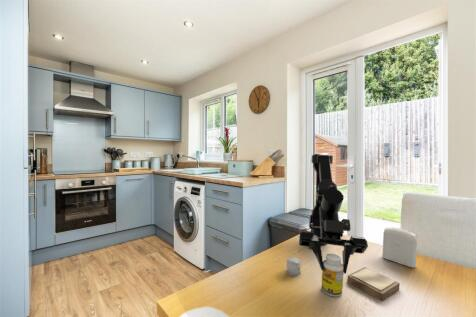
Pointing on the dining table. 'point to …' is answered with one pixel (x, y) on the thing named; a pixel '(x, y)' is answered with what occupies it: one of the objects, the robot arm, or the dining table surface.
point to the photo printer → (400, 246)
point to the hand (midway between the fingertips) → (333, 271)
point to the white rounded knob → (293, 266)
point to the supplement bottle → (332, 275)
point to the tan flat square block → (373, 283)
